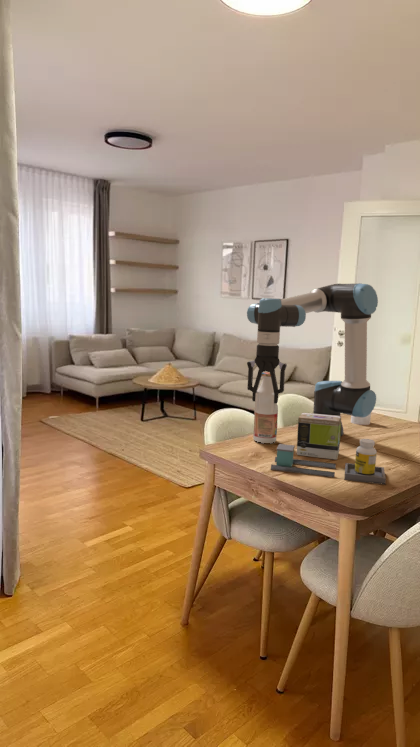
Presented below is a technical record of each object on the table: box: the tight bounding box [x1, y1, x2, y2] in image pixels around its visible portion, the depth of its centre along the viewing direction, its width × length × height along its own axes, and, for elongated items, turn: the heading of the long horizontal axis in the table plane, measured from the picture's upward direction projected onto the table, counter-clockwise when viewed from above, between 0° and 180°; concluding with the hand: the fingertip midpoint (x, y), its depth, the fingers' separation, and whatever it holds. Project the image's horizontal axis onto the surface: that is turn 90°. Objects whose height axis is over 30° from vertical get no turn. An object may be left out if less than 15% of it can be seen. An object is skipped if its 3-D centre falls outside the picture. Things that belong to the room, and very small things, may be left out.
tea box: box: [296, 412, 342, 460], centre depth 189 cm, size 15×10×15 cm, turn 71°
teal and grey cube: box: [275, 443, 296, 467], centre depth 174 cm, size 6×5×6 cm
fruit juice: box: [252, 371, 279, 444], centre depth 203 cm, size 9×9×28 cm
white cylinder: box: [350, 412, 372, 426], centre depth 242 cm, size 9×9×12 cm
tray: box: [343, 462, 387, 486], centre depth 167 cm, size 12×13×2 cm
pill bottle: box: [354, 438, 378, 476], centre depth 166 cm, size 6×6×12 cm
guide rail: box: [270, 456, 337, 478], centre depth 173 cm, size 10×21×2 cm, turn 74°
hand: (264, 411), depth 174 cm, fingers open, 5 cm apart
